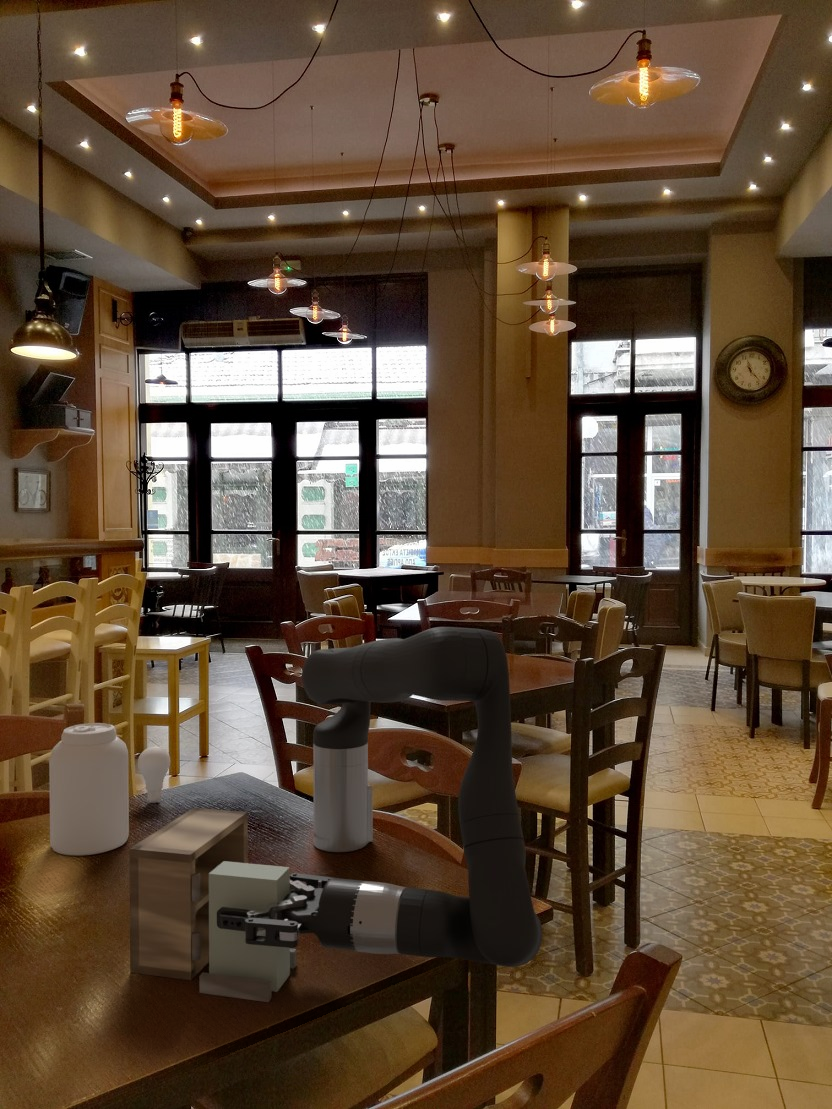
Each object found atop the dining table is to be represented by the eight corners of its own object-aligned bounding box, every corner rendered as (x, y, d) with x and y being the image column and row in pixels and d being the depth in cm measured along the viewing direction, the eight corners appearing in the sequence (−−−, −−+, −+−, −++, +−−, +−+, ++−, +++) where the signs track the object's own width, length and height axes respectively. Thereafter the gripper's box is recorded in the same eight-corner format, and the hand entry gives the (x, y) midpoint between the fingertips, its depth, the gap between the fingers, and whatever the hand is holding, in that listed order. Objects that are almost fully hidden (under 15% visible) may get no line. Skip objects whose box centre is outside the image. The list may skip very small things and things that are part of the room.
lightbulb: (177, 800, 172) (176, 744, 172) (155, 809, 166) (155, 752, 166) (153, 796, 174) (152, 741, 174) (131, 805, 169) (130, 748, 169)
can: (50, 862, 140) (49, 738, 139) (49, 837, 151) (48, 722, 151) (132, 850, 145) (131, 731, 144) (125, 827, 156) (124, 716, 156)
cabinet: (194, 915, 120) (193, 807, 120) (323, 930, 116) (322, 818, 116) (119, 981, 103) (118, 855, 102) (268, 1002, 98) (268, 870, 98)
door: (227, 962, 107) (227, 858, 107) (292, 970, 105) (292, 864, 105) (209, 983, 102) (208, 873, 102) (277, 991, 100) (276, 880, 100)
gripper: (382, 860, 107) (258, 849, 110) (345, 909, 93) (206, 894, 97) (382, 921, 107) (258, 908, 111) (345, 979, 93) (206, 961, 97)
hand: (234, 901), depth 104 cm, fingers open, 8 cm apart
